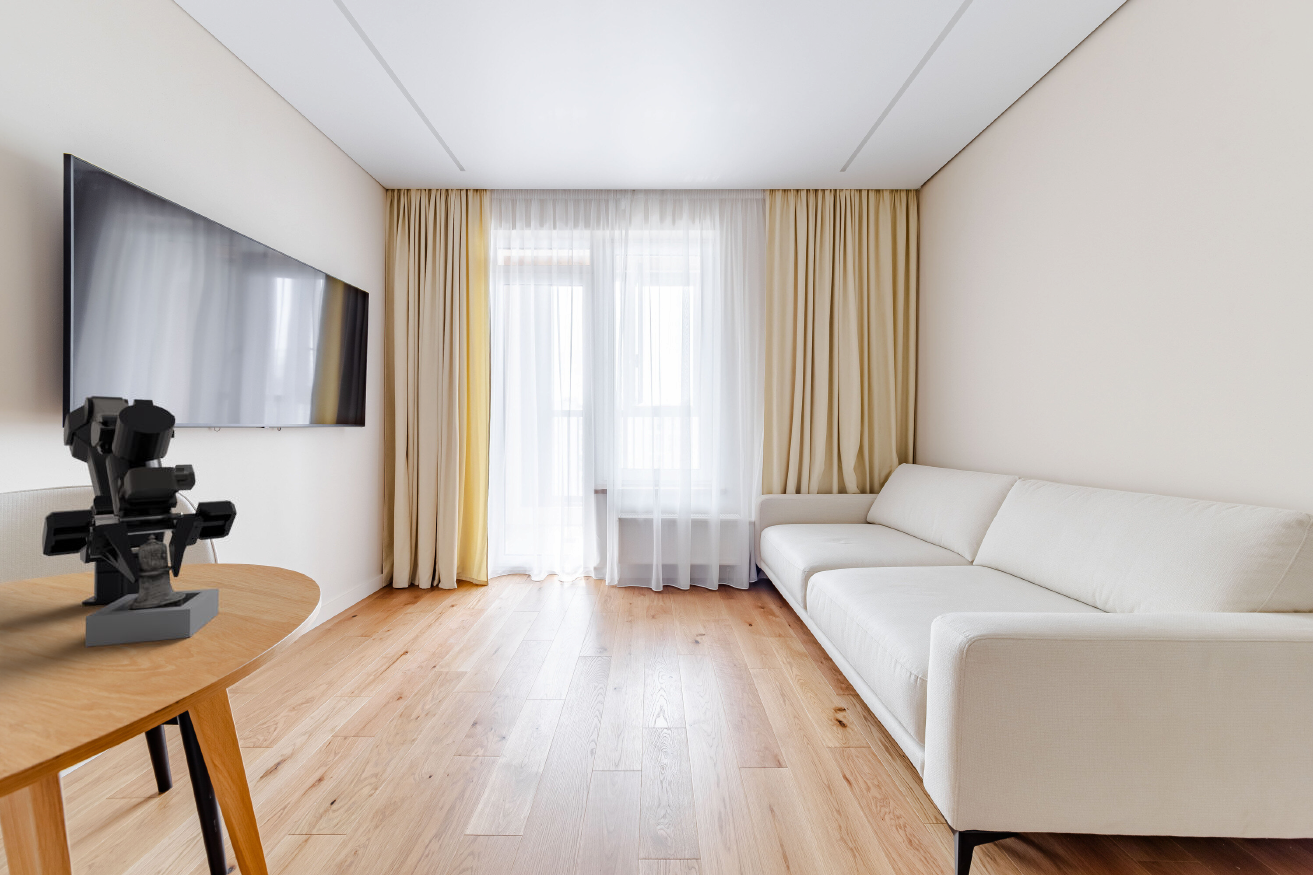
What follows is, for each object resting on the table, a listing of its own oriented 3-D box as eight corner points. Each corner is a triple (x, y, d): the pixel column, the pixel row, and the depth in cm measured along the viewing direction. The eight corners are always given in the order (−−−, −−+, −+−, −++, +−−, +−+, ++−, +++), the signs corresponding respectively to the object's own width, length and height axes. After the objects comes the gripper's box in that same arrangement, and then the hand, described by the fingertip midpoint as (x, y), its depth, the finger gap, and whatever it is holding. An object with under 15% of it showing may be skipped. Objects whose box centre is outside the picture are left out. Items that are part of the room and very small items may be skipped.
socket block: (127, 620, 77) (128, 594, 77) (218, 613, 80) (218, 588, 80) (85, 646, 67) (85, 616, 67) (189, 637, 71) (190, 608, 71)
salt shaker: (152, 637, 71) (145, 540, 70) (114, 634, 72) (107, 539, 71) (199, 619, 76) (193, 529, 76) (163, 617, 78) (157, 529, 77)
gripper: (46, 444, 69) (57, 550, 62) (233, 444, 83) (259, 529, 77) (37, 504, 74) (47, 608, 67) (215, 494, 88) (238, 578, 81)
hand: (156, 578), depth 73 cm, fingers closed on salt shaker, 4 cm apart
